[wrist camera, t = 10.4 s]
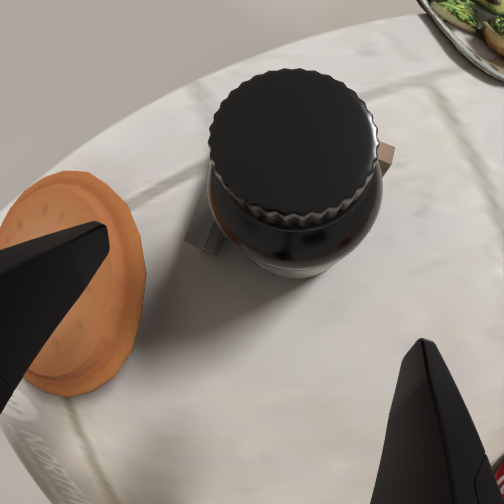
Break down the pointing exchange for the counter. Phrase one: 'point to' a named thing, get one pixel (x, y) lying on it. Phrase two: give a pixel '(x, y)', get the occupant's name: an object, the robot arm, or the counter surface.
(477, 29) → the salad plate
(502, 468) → the soda can
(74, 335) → the pie
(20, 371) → the robot arm
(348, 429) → the counter surface
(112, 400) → the counter surface
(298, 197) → the supplement bottle
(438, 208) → the counter surface
